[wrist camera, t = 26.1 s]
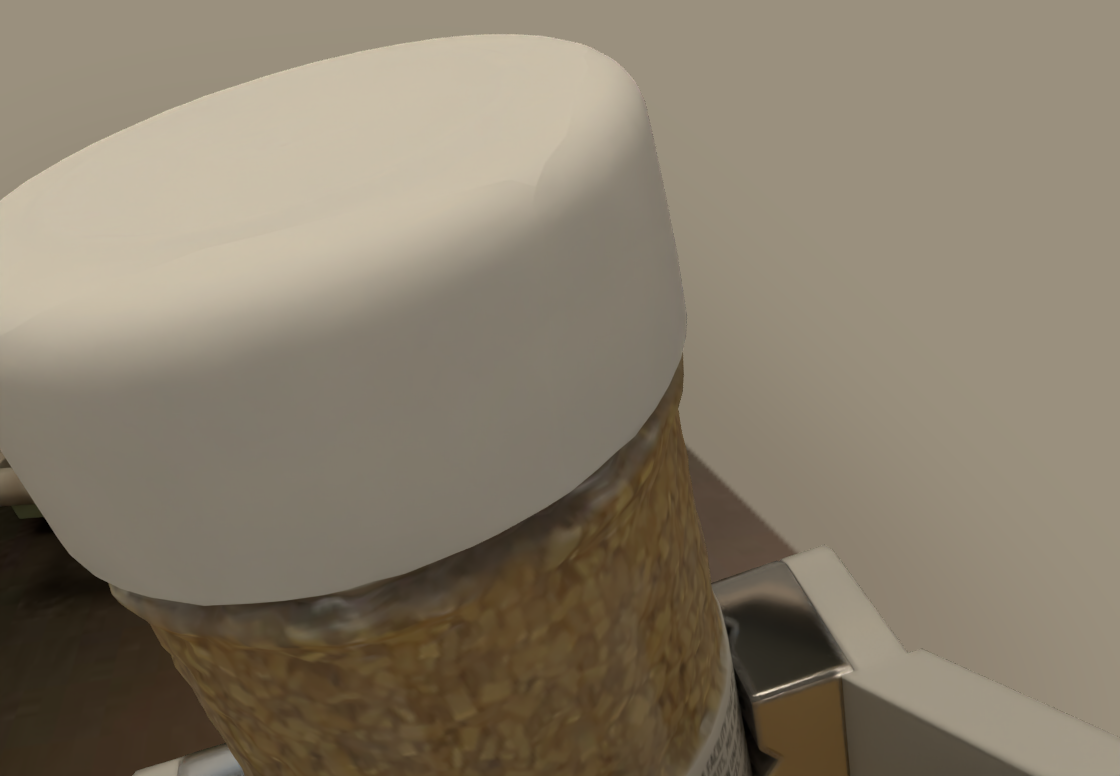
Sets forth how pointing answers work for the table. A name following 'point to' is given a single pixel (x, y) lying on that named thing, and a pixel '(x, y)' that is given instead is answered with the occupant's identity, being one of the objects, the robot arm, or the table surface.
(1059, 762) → the robot arm
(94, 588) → the table surface
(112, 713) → the table surface
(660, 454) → the sprinkles bottle
